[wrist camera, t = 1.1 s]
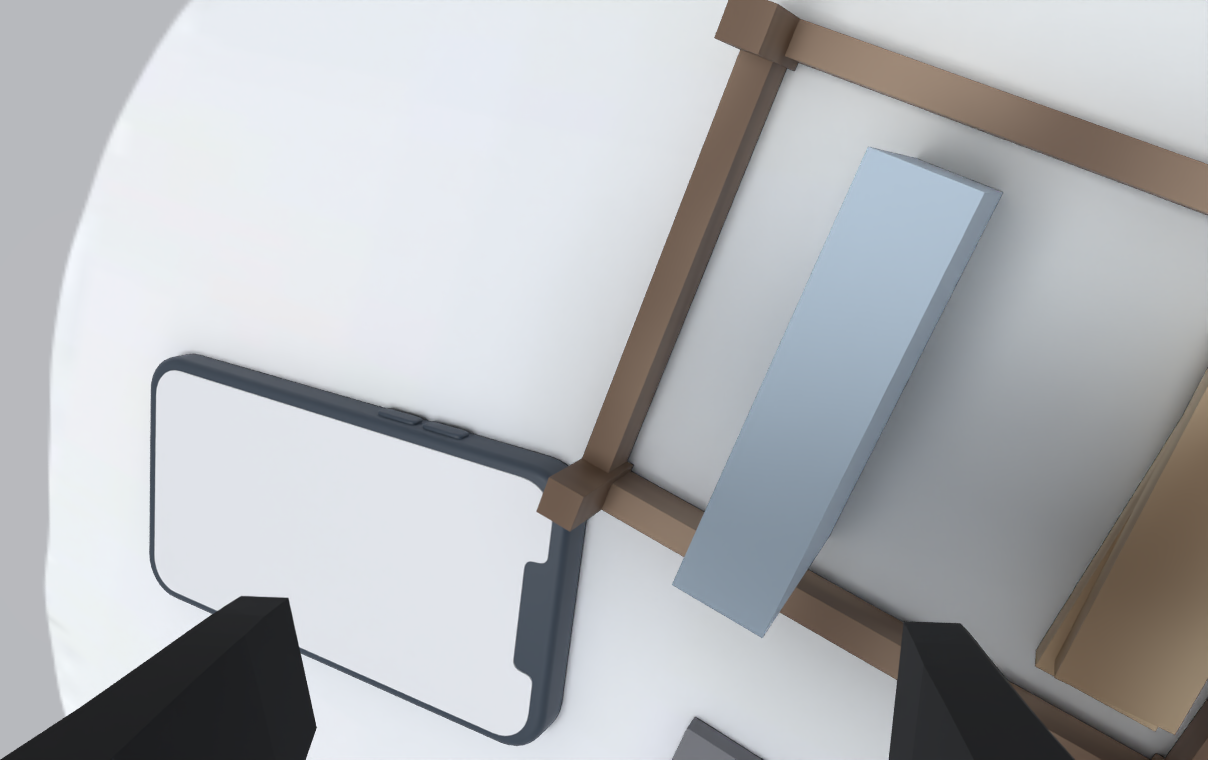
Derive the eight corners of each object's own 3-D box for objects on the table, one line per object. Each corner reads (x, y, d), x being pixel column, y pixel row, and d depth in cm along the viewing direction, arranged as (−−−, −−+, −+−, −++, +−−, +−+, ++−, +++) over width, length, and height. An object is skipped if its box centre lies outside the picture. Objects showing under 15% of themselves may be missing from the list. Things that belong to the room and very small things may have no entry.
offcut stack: (1409, 350, 18) (1439, 364, 16) (1154, 714, 21) (1161, 752, 20) (1245, 287, 19) (1261, 294, 17) (1024, 644, 22) (1022, 676, 20)
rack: (1561, 295, 17) (1656, 315, 14) (1177, 812, 21) (1195, 902, 18) (772, 12, 22) (732, -12, 19) (589, 478, 26) (536, 511, 23)
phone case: (182, 574, 35) (563, 738, 28) (144, 591, 33) (536, 767, 27) (187, 340, 33) (601, 460, 26) (146, 347, 31) (574, 476, 25)
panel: (1003, 192, 20) (984, 192, 15) (829, 537, 23) (762, 638, 18) (915, 158, 21) (867, 146, 16) (756, 497, 24) (671, 584, 19)
